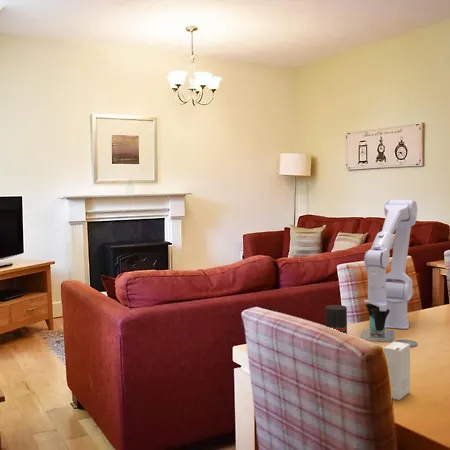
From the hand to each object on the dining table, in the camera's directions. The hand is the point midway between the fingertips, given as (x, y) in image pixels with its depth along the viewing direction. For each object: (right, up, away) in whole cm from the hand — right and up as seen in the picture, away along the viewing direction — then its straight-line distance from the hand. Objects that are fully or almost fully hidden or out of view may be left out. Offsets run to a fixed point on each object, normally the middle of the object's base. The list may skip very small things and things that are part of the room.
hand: (377, 327), depth 178 cm
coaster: (+6, -3, -9) cm, 11 cm away
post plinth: (0, -3, 0) cm, 3 cm away
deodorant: (-17, -5, -20) cm, 27 cm away
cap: (0, 0, 0) cm, 0 cm away
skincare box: (-9, -7, -48) cm, 49 cm away
